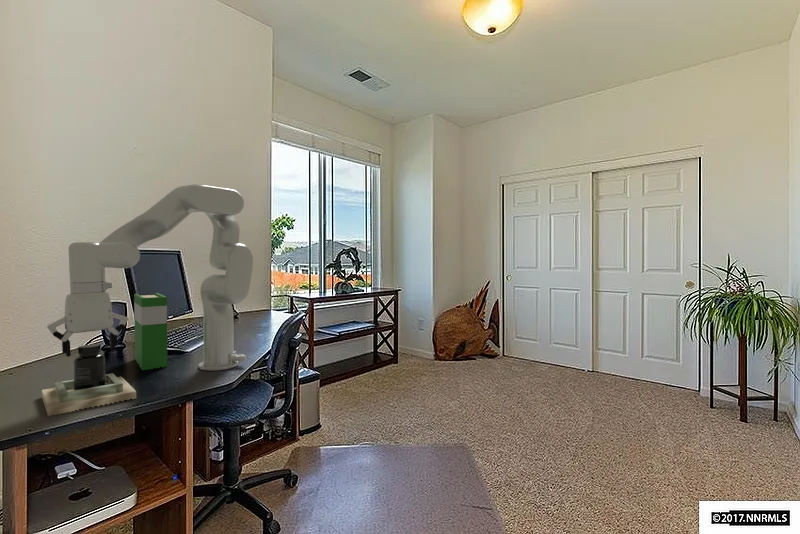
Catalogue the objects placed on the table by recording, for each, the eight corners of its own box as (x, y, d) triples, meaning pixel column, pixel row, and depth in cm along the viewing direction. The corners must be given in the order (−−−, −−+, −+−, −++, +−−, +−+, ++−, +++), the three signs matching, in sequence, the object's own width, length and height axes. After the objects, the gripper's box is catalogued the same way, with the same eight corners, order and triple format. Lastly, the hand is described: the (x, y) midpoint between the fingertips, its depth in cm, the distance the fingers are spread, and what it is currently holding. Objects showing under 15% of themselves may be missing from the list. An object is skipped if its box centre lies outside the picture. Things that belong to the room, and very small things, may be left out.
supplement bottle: (111, 387, 113) (111, 344, 113) (85, 395, 107) (84, 349, 107) (94, 385, 116) (93, 342, 115) (67, 392, 109) (66, 347, 109)
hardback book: (134, 359, 151) (134, 293, 151) (158, 356, 156) (157, 292, 155) (142, 370, 138) (141, 298, 137) (167, 366, 142) (166, 296, 142)
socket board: (121, 383, 124) (121, 369, 124) (136, 398, 111) (136, 383, 111) (41, 397, 111) (41, 382, 111) (48, 416, 98) (47, 399, 98)
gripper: (123, 285, 119) (125, 344, 120) (44, 290, 107) (47, 355, 108) (129, 287, 114) (131, 349, 115) (46, 292, 102) (50, 361, 103)
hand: (90, 352), depth 111 cm, fingers open, 9 cm apart
